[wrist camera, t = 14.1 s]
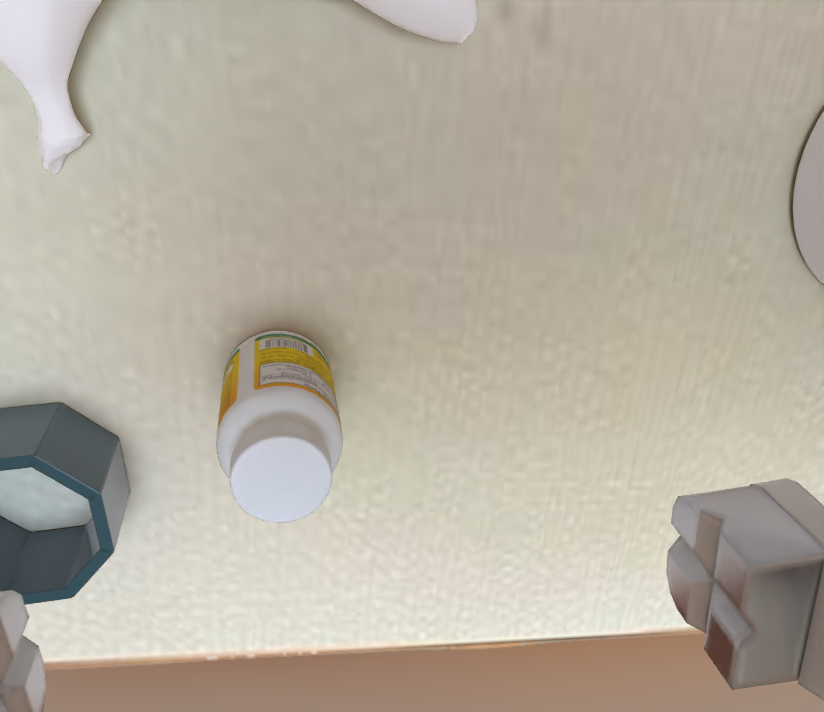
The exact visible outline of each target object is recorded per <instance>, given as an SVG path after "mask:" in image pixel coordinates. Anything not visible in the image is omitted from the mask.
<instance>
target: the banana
mask: <svg viewBox="0 0 824 712" xmlns="http://www.w3.org/2000/svg"><path fill="white" fill-rule="evenodd" d="M354 1H355V2H357V3H359V4H360V5H362V6H363V7H365V8H366V9H368V10H370V11H371V12H373V13H375V14H376V15H378V16H380V17H382V18H383V19H385V20H387V21H389V22H391V23H393V24H395V25H397V26H399V27H401V28H403V29H405V30H408V31H410V32H413V33H415V34H418V35H421V36H424V37H428V38H431V39H434V40H437V41H443V42H455V43H456V44H461V43H462V42H463V41H464V40H465V39H466V38H468V37H469V35H471V34H472V33H473V31H474V29H475V25H476V24H477V17H478V11H477V3H476V0H354ZM101 2H102V0H0V61H1V62H2V64H3V65H4V66H5V67H6V68H7V69H8V70H9V71H10V72H11V73H12V74H13V75H14V76H15V77H16V78H17V79H18V80H19V81H20V82H21V84H22V85H23V87H24V88H25V89H26V91H27V92H28V94H29V96H30V98H31V100H32V102H33V104H34V107H35V110H36V112H37V116H38V120H39V126H38V133H37V142H38V146H39V150H40V154H41V158H42V162H43V165H44V168H45V170H46V171H51V172H52V173H55V174H57V173H58V172H59V171H60V169H61V168H62V165H63V162H64V160H65V158H66V156H67V154H69V153H70V152H71V151H73V150H75V149H77V148H78V147H79V146H80V145H81V144H82V141H83V140H85V139H87V138H88V137H89V136H90V135H91V134H90V133H88V132H86V131H85V129H84V128H83V127H82V125H81V124H80V123H79V121H78V120H77V118H76V116H75V114H74V111H73V108H72V105H71V102H70V98H69V94H68V88H67V82H68V77H69V74H70V71H71V68H72V65H73V61H74V58H75V55H76V53H77V50H78V47H79V45H80V42H81V39H82V37H83V35H84V32H85V30H86V28H87V26H88V24H89V22H90V20H91V18H92V16H93V14H94V13H95V11H96V9H97V8H98V6H99V5H100V3H101Z"/></svg>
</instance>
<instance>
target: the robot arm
mask: <svg viewBox="0 0 824 712" xmlns="http://www.w3.org/2000/svg"><path fill="white" fill-rule="evenodd" d="M793 221H794V229H795V234H796V239H797V242H798V246H799V249H800V251H801V254H802V256H803V258H804V260H805V262H806V264H807V265H808V267H809V268H810V270H811V271H812V273H813V274H814V275H815V276H816V278H817V279H818V280H819V281H820V282H821V283H822V284H824V111H823V113H822V114H821V116H820V118H819V119H818V121H817V123H816V125H815V127H814V129H813V130H812V133H811V135H810V137H809V139H808V141H807V144H806V146H805V149H804V151H803V154H802V157H801V161H800V164H799V168H798V171H797V176H796V181H795V187H794V196H793ZM671 524H672V525H673V526H674V528H675V529H676V530H677V531H678V533H679V534H680V537H679V538H678V539H677V540H676V542H675V543H674V544H673V545H672V546H671V548H670V549H669V550H668V557H667V577H668V583H669V588H670V593H671V595H672V598H673V600H674V602H675V605H676V607H677V609H678V611H679V612H680V614H681V615H682V617H683V618H684V620H685V621H686V623H688V624H690V625H691V626H693V627H695V628H697V629H699V630H701V631H702V632H704V633H706V638H705V646H704V649H705V651H706V652H707V654H708V655H709V657H710V658H711V660H712V661H713V662H714V664H715V665H716V666H717V668H718V670H719V671H720V673H721V674H722V676H723V677H724V678H725V680H726V681H727V683H728V684H729V686H730V687H731V689H732V690H735V689H741V688H748V687H755V686H762V685H769V684H775V683H782V682H789V681H796V680H799V682H798V683H799V684H800V685H801V686H803V687H804V688H806V689H807V690H809V691H810V692H812V693H813V694H815V695H816V696H818V697H819V698H821V699H822V700H824V506H823V505H822V504H821V503H820V502H819V501H818V500H817V499H816V498H814V497H813V496H812V495H811V494H810V493H809V492H808V491H807V490H805V489H804V488H803V487H802V486H801V485H800V484H799V483H798V482H795V481H792V480H790V479H787V478H786V479H780V480H774V481H768V482H762V483H756V484H751V485H750V486H746V487H739V488H732V489H725V490H719V491H712V492H705V493H698V494H691V495H684V496H678V498H677V500H676V502H675V504H674V506H673V511H672V519H671ZM28 619H29V615H28V612H27V609H26V607H25V604H24V601H23V599H22V596H21V594H19V593H17V592H15V591H13V590H8V591H0V712H43V709H44V700H45V687H46V678H45V670H44V662H43V659H42V655H41V652H40V649H39V646H38V645H36V644H35V643H34V642H32V641H31V640H29V639H28V638H26V637H25V636H23V635H22V634H23V632H24V629H25V626H26V624H27V621H28Z"/></svg>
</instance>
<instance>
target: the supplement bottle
mask: <svg viewBox="0 0 824 712" xmlns="http://www.w3.org/2000/svg"><path fill="white" fill-rule="evenodd" d="M342 445H343V436H342V428H341V422H340V417H339V412H338V407H337V402H336V396H335V391H334V385H333V379H332V373H331V369H330V365H329V363H328V360H327V358H326V357H325V355H324V354H323V352H322V351H321V350H320V348H319V347H318V346H317V345H316V344H314V343H313V342H312V341H310V340H309V339H307V338H305V337H304V336H301V335H299V334H296V333H293V332H288V331H267V332H264V333H260V334H257V335H255V336H253V337H251V338H249V339H247V340H246V341H244V342H243V343H242V344H241V345H239V346H238V347H237V348H236V349H235V351H234V352H233V353H232V355H231V357H230V359H229V361H228V363H227V365H226V368H225V372H224V378H223V388H222V395H221V405H220V413H219V422H218V430H217V441H216V446H217V455H218V459H219V462H220V464H221V467H222V469H223V471H224V472H225V474H226V475H227V476H228V478H229V479H230V486H231V491H232V494H233V496H234V498H235V500H236V501H237V503H238V504H239V506H240V507H241V508H242V509H243V510H244V511H246V512H247V513H248V514H250V515H252V516H254V517H256V518H258V519H260V520H263V521H267V522H275V523H282V522H291V521H295V520H298V519H301V518H303V517H305V516H307V515H309V514H311V513H312V512H313V511H315V510H316V509H317V508H318V507H319V506H320V505H321V504H322V503H323V502H324V500H325V499H326V497H327V495H328V493H329V490H330V487H331V483H332V472H333V471H334V469H335V468H336V466H337V464H338V461H339V459H340V456H341V452H342Z"/></svg>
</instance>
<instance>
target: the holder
mask: <svg viewBox="0 0 824 712" xmlns="http://www.w3.org/2000/svg"><path fill="white" fill-rule="evenodd" d="M29 467H32V468H34V469H36V470H38V471H40V472H41V473H43V474H45V475H47V476H48V477H50V478H52V479H54V480H55V481H57V482H59V483H61V484H62V485H64V486H66V487H68V488H69V489H71V490H73V491H75V492H76V493H78V494H80V495H82V496H84V497H85V498H87V499H88V500H89V504H90V509H91V513H92V517H93V518H92V519H91V520H90V522H89V523H88V524H87V525H86V526H80V527H72V528H64V529H56V530H48V531H40V532H32V533H30V532H28V531H26V530H24V529H22V528H20V527H18V526H17V525H15V524H13V523H11V522H9V521H7V520H5V519H3V518H1V517H0V591H8V590H13V591H15V592H17V593H19V594H21V596H22V599H23V601H24V604H32V603H39V602H47V601H54V600H61V599H68V598H72V597H74V596H75V595H76V594H77V593H78V592H79V591H80V589H81V588H82V587H83V586H84V585H85V584H86V583H87V582H88V581H89V579H90V578H91V577H92V576H93V575H94V574H95V573H96V572H97V571H98V569H99V568H100V567H101V566H102V565H103V564H104V563H105V562H106V561H107V559H108V558H109V557H110V556H111V555H112V554H113V553H114V550H115V547H116V543H117V539H118V535H119V531H120V528H121V524H122V520H123V516H124V512H125V509H126V505H127V501H128V497H129V494H130V488H129V484H128V479H127V474H126V470H125V465H124V460H123V456H122V451H121V446H120V441H119V439H118V437H116V436H115V435H113V434H112V433H110V432H108V431H107V430H105V429H103V428H102V427H100V426H99V425H97V424H95V423H94V422H92V421H90V420H89V419H87V418H85V417H84V416H82V415H81V414H79V413H77V412H76V411H74V410H72V409H71V408H69V407H68V406H66V405H64V404H63V403H52V404H42V405H33V406H23V407H14V408H4V409H0V471H3V470H11V469H20V468H29Z"/></svg>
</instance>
